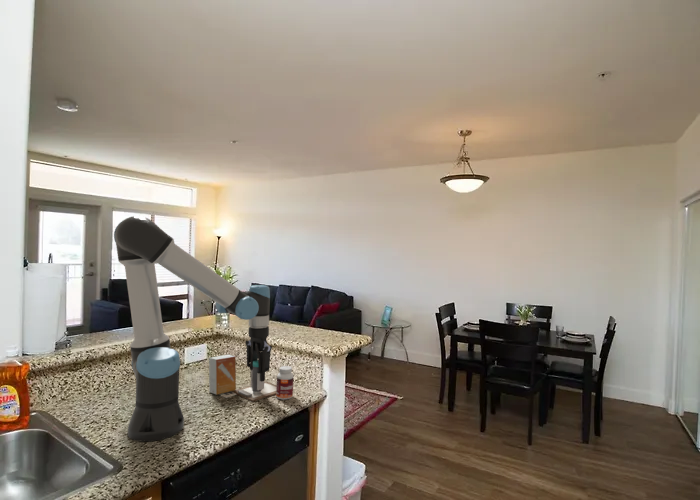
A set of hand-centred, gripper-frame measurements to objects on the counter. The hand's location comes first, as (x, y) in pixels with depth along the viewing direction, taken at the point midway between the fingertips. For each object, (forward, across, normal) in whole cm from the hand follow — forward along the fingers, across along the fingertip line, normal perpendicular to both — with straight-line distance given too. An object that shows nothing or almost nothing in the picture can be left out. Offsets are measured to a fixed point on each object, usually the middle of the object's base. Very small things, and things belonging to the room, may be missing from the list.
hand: (257, 387), depth 149 cm
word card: (+3, +8, +6) cm, 11 cm away
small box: (+2, +11, +8) cm, 14 cm away
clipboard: (+3, +2, -3) cm, 4 cm away
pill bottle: (+3, -9, -6) cm, 11 cm away
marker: (+2, 0, 0) cm, 2 cm away
